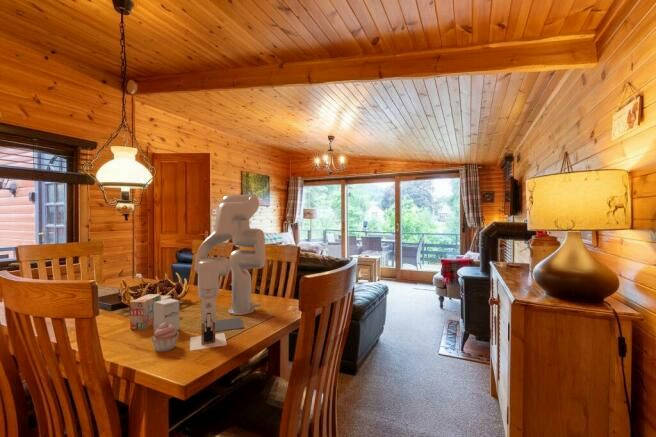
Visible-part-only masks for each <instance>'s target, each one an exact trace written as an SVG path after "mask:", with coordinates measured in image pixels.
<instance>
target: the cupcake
mask: <svg viewBox="0 0 656 437" xmlns="http://www.w3.org/2000/svg"><path fill="white" fill-rule="evenodd" d="M179 333H180V332H178V330H176V329H175V328H174V326H173V325H171V324H168V323H167V322H165V323H162V324H161V325H160V326H159V328H158V329H157V330H156V331H153V335H152V336H151V338H150V340H151V342H152V344H153V345H154V350H155V351H156V352H159V353H163V352H168V351H169V352H170V351H172V350H173V349H175V347H176V343H177V339H178V337H179V336H180V335H179Z"/></svg>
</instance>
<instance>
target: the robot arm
mask: <svg viewBox="0 0 656 437" xmlns="http://www.w3.org/2000/svg"><path fill="white" fill-rule="evenodd" d="M259 207H260V201H259V198H258V197H257V196H256V195H254V194H229V195H228V194H227V195H225V196H223V198H222V202H221V203H220V204H219V206H218V208H217V211H216V212H217V213H216V219H215V222H214V226H213V231H212V232H211V234H210V235H209V236H207V238H205V240H204V241H203V242H202V243H201V244H200V245H199V247H198V250H197V252H196V256H195V261H194V270H195V273H196V274H197V297H198V298H199V299H200V300H201V302H200V303H201V306H200V307H201V319H202V320H203V324H205V331H204V342H209V341H213V330H212V321H213V322H215V323H216V320H217V299H216V298H217V297H218V296H219V277H223V276H227V275H228V274H230V272H231V307H230V308H229V309H228V313H229V314H230V315H234V316H243V315H249V314H252V313H254V311H255V308H259V307H261V302H252V276H251V273H250V272H249V270H248V269H251V270H252V269H254V270H255V269H257V270H258V269H263V268H264V266H265V264H266V237H265V232H264V231H263V229H261V228H251V227H250V219H252V218H253V216H254V215H255V214H256V213H257V212H258V210H259ZM231 239H232V244H233V246H235V247H237V248H253V249H235V250H233V251H232V252H231V253H230V255H229V258H228V257H221V256H220V257H219V256H217V257H216V256H209V253H210V251H212V249H213V248H215V247H216V246H218V245H221V244H223V243H225V242H228V241H230V240H231ZM206 321H207V323H206ZM206 325H207V326H206Z"/></svg>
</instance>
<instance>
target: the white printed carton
mask: <svg viewBox="0 0 656 437" xmlns="http://www.w3.org/2000/svg"><path fill="white" fill-rule="evenodd" d="M165 299H173V298H172V295H161V294H158V293H157V294H156V293H154V294H153V293H148V294H145V295H143V296H141V297H138V298H137V299H133V300H131V301H129V303H130V304H129V305H130V306H129V309H130V310H129V316H130V317H129V318H130V321H129V322H130V324H129V325H130V328H129V329H130V330H142V331H143V330H146V329H148V328H150V327H152V326H154V302H157V301H161V300H165Z"/></svg>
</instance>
